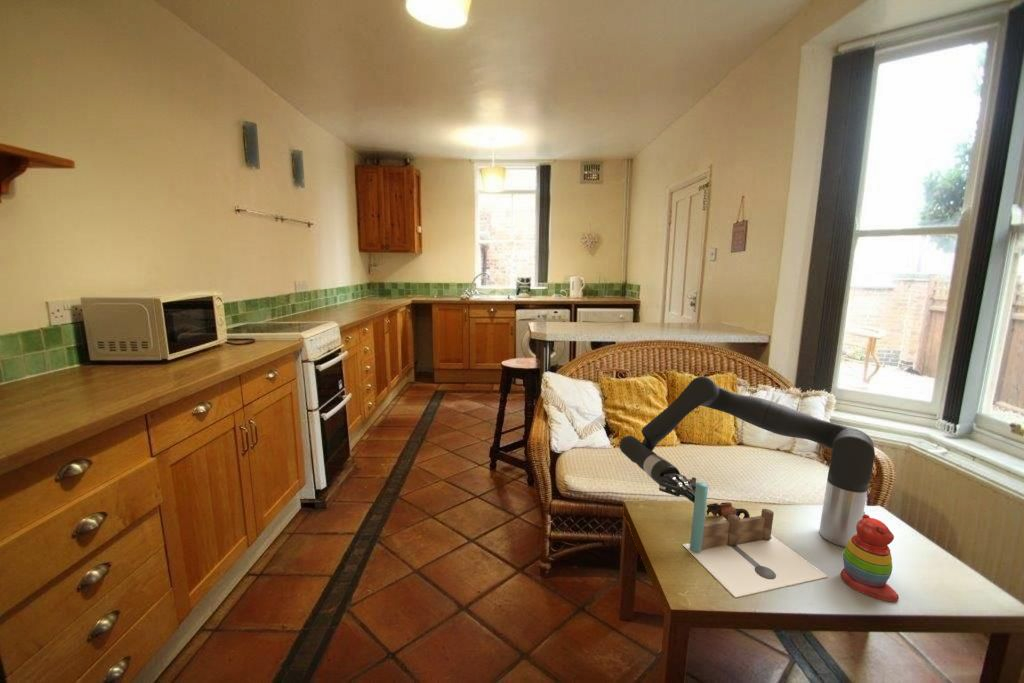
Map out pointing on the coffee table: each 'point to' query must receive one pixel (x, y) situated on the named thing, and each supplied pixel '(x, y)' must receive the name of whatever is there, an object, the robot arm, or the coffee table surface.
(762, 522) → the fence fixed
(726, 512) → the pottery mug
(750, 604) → the coffee table surface
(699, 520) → the l-shaped post
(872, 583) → the stacking bear
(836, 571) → the coffee table surface
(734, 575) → the card
